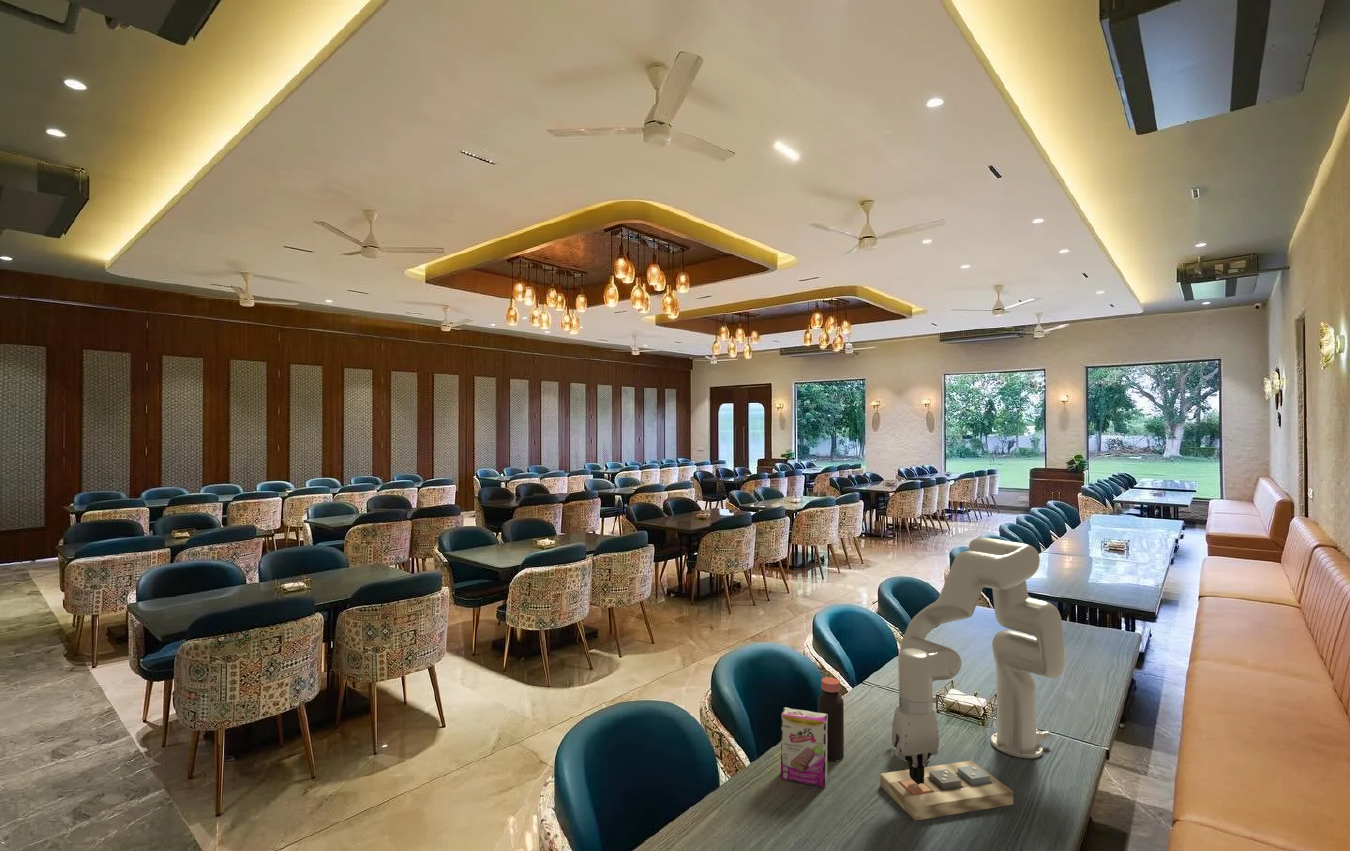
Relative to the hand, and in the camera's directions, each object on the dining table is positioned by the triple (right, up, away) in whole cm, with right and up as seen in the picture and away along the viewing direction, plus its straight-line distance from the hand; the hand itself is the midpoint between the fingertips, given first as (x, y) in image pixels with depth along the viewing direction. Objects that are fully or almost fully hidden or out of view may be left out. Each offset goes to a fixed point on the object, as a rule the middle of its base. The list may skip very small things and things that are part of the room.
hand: (917, 780), depth 146 cm
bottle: (-15, -5, +20) cm, 26 cm away
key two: (+15, -3, +3) cm, 16 cm away
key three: (+7, -3, +2) cm, 8 cm away
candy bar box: (-25, -5, +8) cm, 27 cm away
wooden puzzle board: (+7, -4, +2) cm, 9 cm away
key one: (0, -4, 0) cm, 4 cm away
